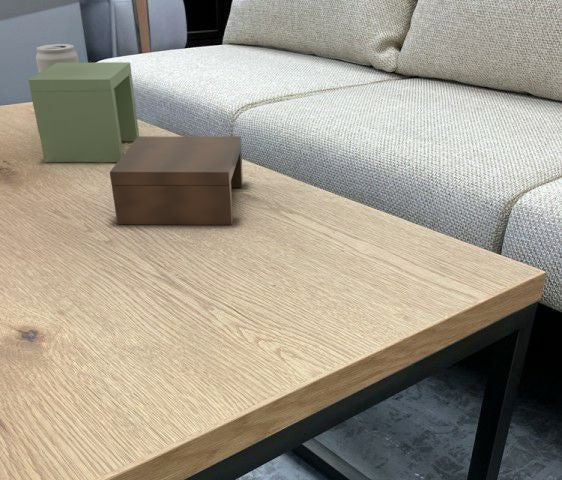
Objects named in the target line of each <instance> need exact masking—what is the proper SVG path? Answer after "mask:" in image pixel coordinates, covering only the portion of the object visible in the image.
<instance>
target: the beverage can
mask: <svg viewBox="0 0 562 480" xmlns="http://www.w3.org/2000/svg"><path fill="white" fill-rule="evenodd" d="M36 51H37V52H36V55H35V60H36V66H37V71H38V74H39V73H40V72H42V71H44V70H45V69H47V68H49V67H50V66H52V65H54V64H55V63H80V61H79V60H80V59H79V55H78V53H77V51H76V50H75V46H74V45H73V44H69V43H55V44H54V43H53V44H44V45H41V46H37V47H36Z"/></svg>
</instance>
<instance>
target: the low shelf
mask: <svg viewBox="0 0 562 480" xmlns="http://www.w3.org/2000/svg"><path fill="white" fill-rule="evenodd" d="M242 150H243V149H242V137H241V136H139V137H137V138H136V139H135V140H134V141H132V142H131V144H130V146H129V147H128V148H127V149H126V151H125V152H123V156H122V157H121V158H120V159H119V161H118V162H115V164H114V166H113V167H112V168H111V170H110V171H109V177H110V182H111V183H110V184H111V191H112V197H113V205H114V210H115V211H114V212H115V217H116V223H117V225H183V226H185V225H189V226H190V225H191V226H193V225H195V226H196V225H200V226H202V225H203V226H205V225H207V226H210V225H211V226H213V225H214V226H216V225H217V226H220V225H222V226H229V225H230V226H231V225H232V224H233V221H234V214H233V194H232V188H235V189H236V188H240V189H241V188H243V184H244V176H243V174H244V173H243V153H242V152H243V151H242Z"/></svg>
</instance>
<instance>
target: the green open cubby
mask: <svg viewBox="0 0 562 480" xmlns="http://www.w3.org/2000/svg"><path fill="white" fill-rule="evenodd" d="M28 85H29V91H30V96H31V100H32V105H33V111H34V115H35V120H36V126H37V130H38V136H39V140H40V146H41V150H42V155H43V161H44V163H117V162H118V161H119V159H120V158H121V157H122V156H123V154H124V150H123V144H122V142H134V140H135V139H136V138H137V137H140V131H139V124H138V115H137V107H136V100H135V98H136V97H135V90H134V81H133V75H132V68H131V62H128V61H127V62H124V61H123V62H121V61H119V62H111V61H110V62H106V61H105V62H79V63H55V64H54V65H52V66H50V67H49V68H47V69H45V70H44V71H42V72H40V73H39V72H38V73H37V74H35V75H34V76H31V77H30V78H28Z"/></svg>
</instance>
